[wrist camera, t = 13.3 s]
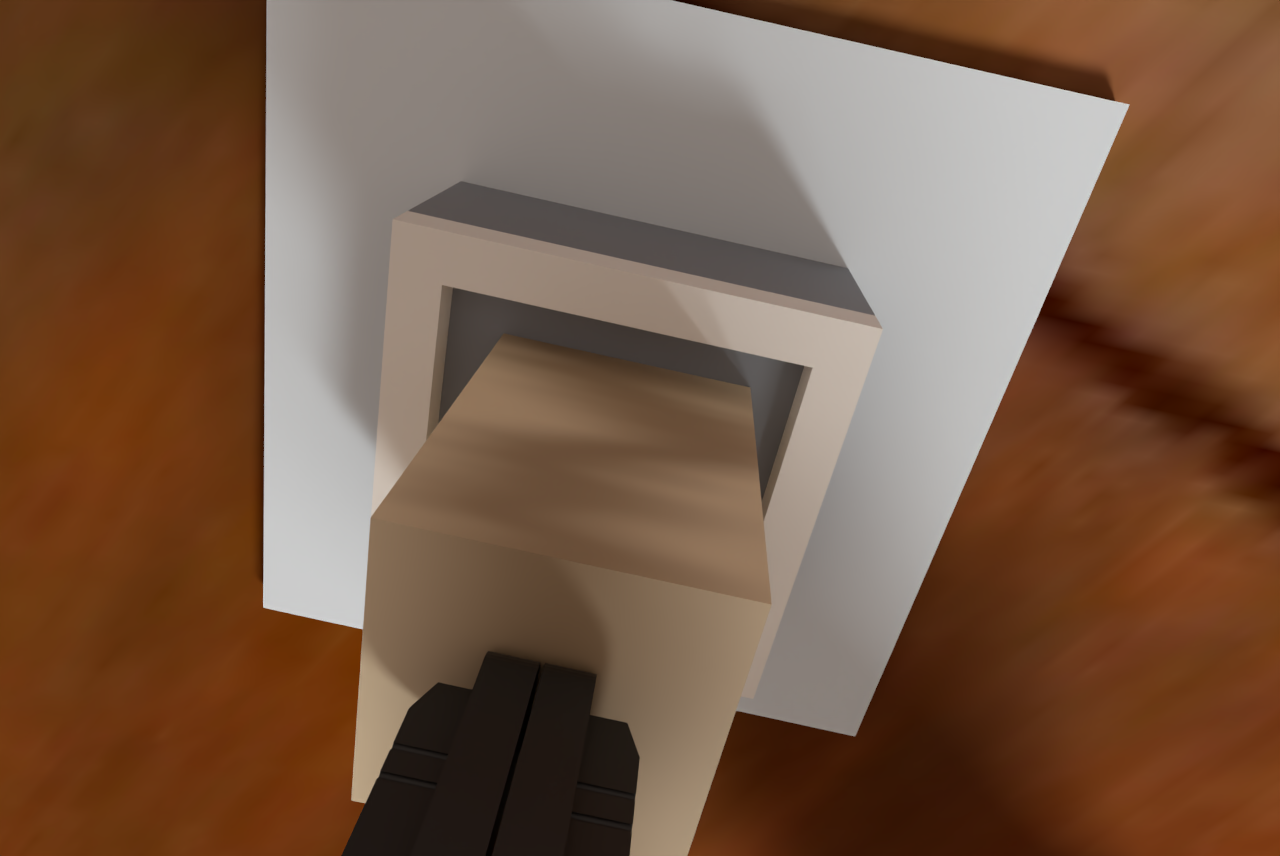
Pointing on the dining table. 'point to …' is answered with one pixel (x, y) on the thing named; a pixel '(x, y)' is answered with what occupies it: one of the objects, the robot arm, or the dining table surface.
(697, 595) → the maple block
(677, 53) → the square block holder
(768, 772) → the dining table surface
